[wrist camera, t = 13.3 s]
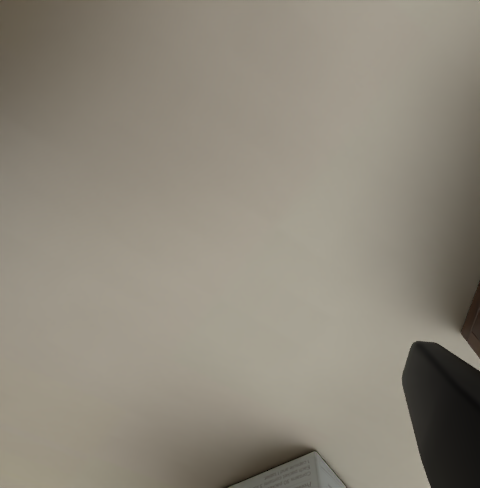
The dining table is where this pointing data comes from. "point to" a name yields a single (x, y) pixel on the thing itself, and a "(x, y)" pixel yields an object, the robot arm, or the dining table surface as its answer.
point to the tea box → (473, 324)
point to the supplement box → (296, 475)
